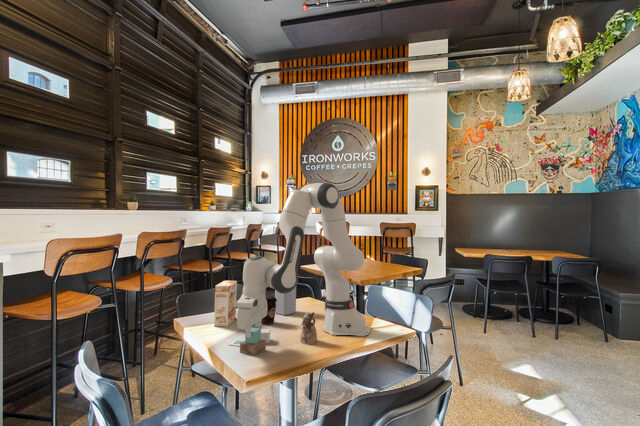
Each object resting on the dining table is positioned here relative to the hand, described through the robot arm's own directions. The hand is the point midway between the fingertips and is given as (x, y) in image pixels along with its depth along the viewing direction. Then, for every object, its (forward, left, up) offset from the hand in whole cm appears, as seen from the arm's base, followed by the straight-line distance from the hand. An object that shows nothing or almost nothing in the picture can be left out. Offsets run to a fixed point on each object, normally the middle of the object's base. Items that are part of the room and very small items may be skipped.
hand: (253, 333), depth 130 cm
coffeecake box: (+29, -31, -7) cm, 43 cm away
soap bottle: (+6, -55, -7) cm, 56 cm away
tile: (+9, -6, -7) cm, 13 cm away
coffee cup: (+8, -35, -7) cm, 37 cm away
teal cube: (0, 0, -3) cm, 3 cm away
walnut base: (0, 0, -7) cm, 7 cm away
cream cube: (0, -11, -7) cm, 13 cm away
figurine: (-18, -16, -7) cm, 25 cm away
